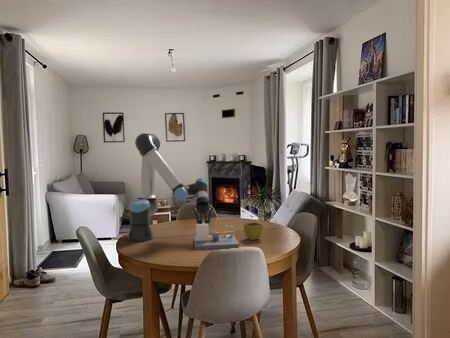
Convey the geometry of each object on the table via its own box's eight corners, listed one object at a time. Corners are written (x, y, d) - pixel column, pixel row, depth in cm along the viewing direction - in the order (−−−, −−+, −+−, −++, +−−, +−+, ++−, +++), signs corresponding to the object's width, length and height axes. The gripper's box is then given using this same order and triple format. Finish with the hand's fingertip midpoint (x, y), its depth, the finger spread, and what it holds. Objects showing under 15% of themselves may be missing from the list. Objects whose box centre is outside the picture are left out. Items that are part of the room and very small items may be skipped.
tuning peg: (196, 241, 202) (196, 225, 201) (196, 239, 206) (195, 223, 205) (235, 238, 205) (234, 223, 205) (233, 237, 209) (233, 222, 209)
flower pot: (250, 241, 209) (250, 226, 208) (243, 238, 217) (242, 223, 216) (263, 239, 213) (263, 224, 212) (255, 236, 221) (255, 222, 220)
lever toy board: (194, 249, 194) (194, 234, 194) (194, 239, 216) (194, 226, 216) (238, 247, 196) (238, 233, 196) (233, 237, 218) (233, 224, 218)
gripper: (212, 203, 225) (215, 236, 210) (191, 203, 224) (192, 237, 208) (212, 196, 220) (215, 229, 204) (191, 196, 218) (192, 230, 203)
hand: (204, 233), depth 206 cm, fingers closed
